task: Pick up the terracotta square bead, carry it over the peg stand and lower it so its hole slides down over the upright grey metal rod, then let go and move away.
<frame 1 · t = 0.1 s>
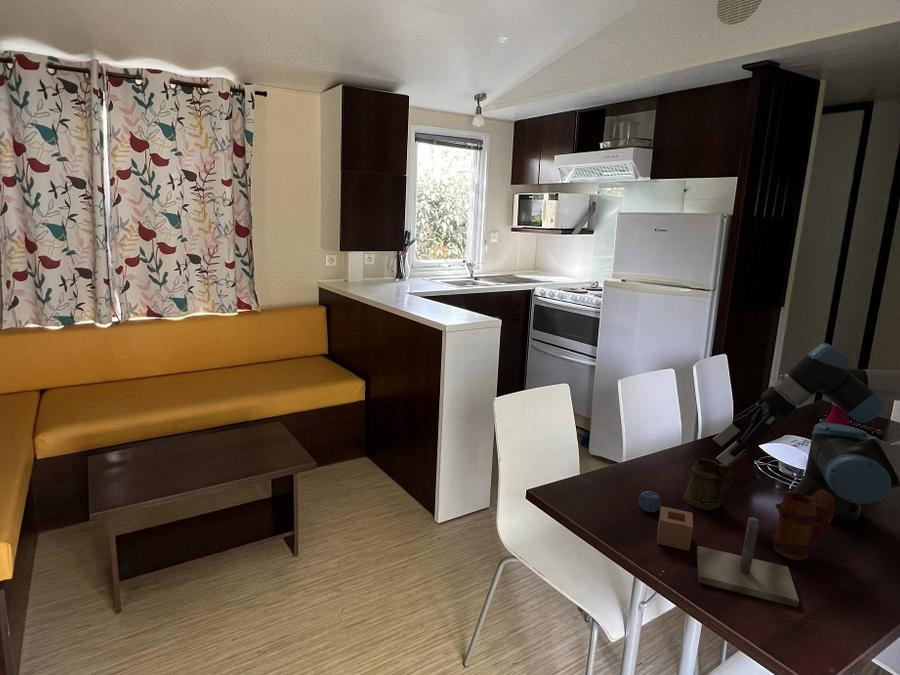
hand: (718, 452, 145), 15 cm above the table, tool tilted 35°, fingers open, 13 cm apart
peg stand: (743, 577, 119), on the table
mug: (798, 553, 129), on the table
decorative dice: (648, 509, 146), on the table
pepper mill: (833, 437, 203), on the table
wooden mug: (709, 506, 149), on the table
bead: (673, 539, 132), on the table
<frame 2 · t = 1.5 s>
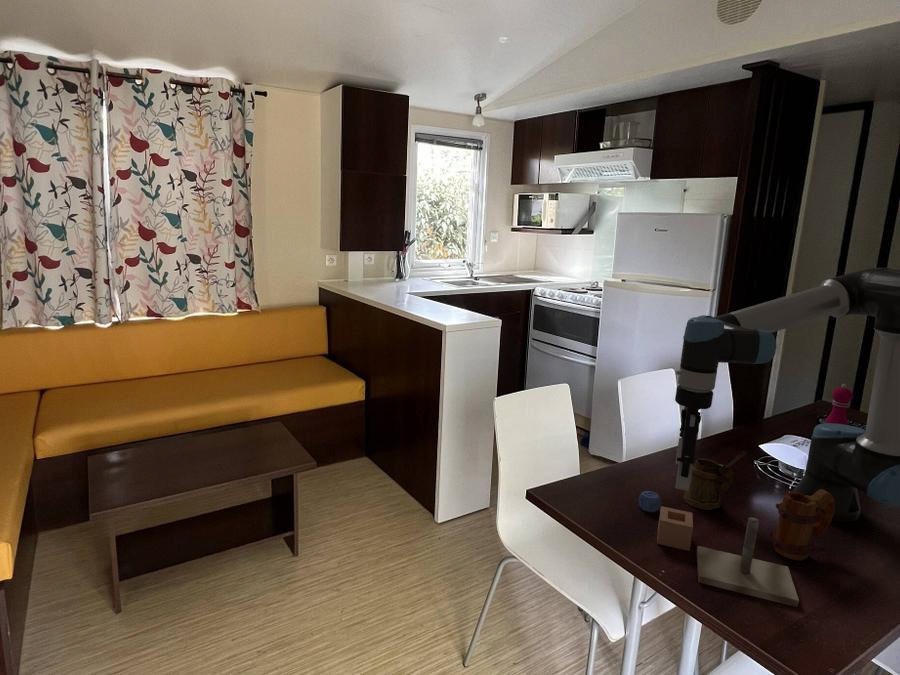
hand: (681, 476, 129), 16 cm above the table, tool pointing down, fingers open, 13 cm apart
nothing on the table moved.
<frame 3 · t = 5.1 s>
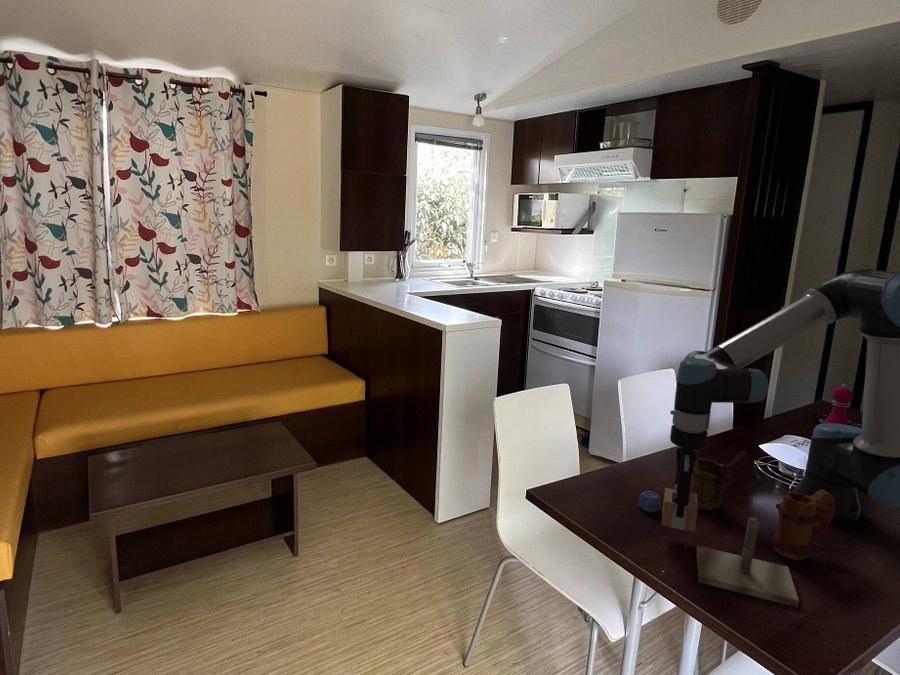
hand: (677, 519, 131), 5 cm above the table, tool pointing down, fingers closed on bead, 7 cm apart
bead: (678, 520, 131), point 5 cm above the table, touching gripper
everything else where it was.
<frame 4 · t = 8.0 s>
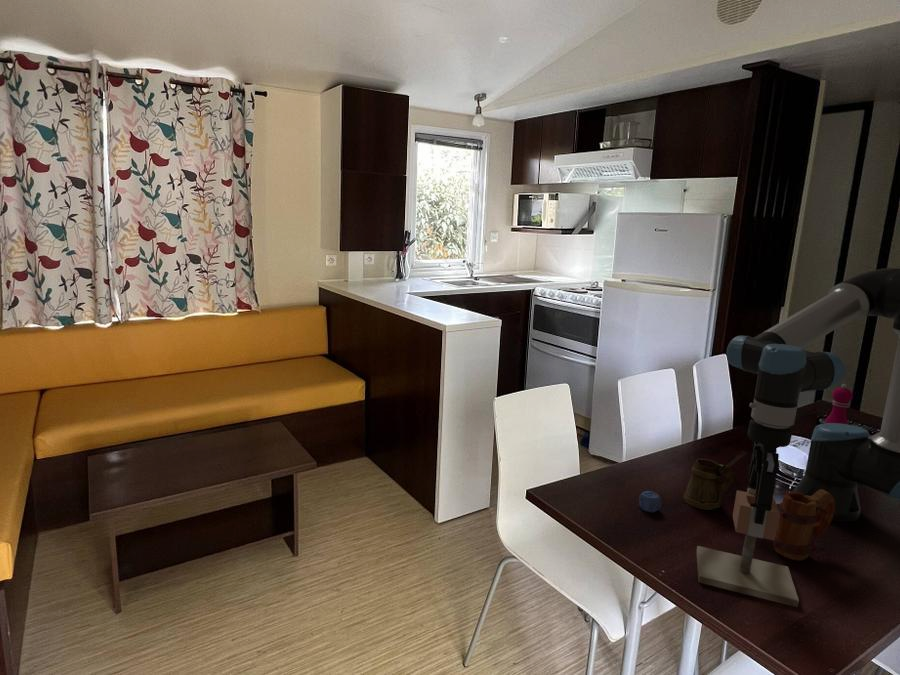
hand: (752, 526, 117), 12 cm above the table, tool pointing down, fingers closed on bead, 7 cm apart
bead: (752, 527, 117), point 12 cm above the table, touching gripper
everything else where it was.
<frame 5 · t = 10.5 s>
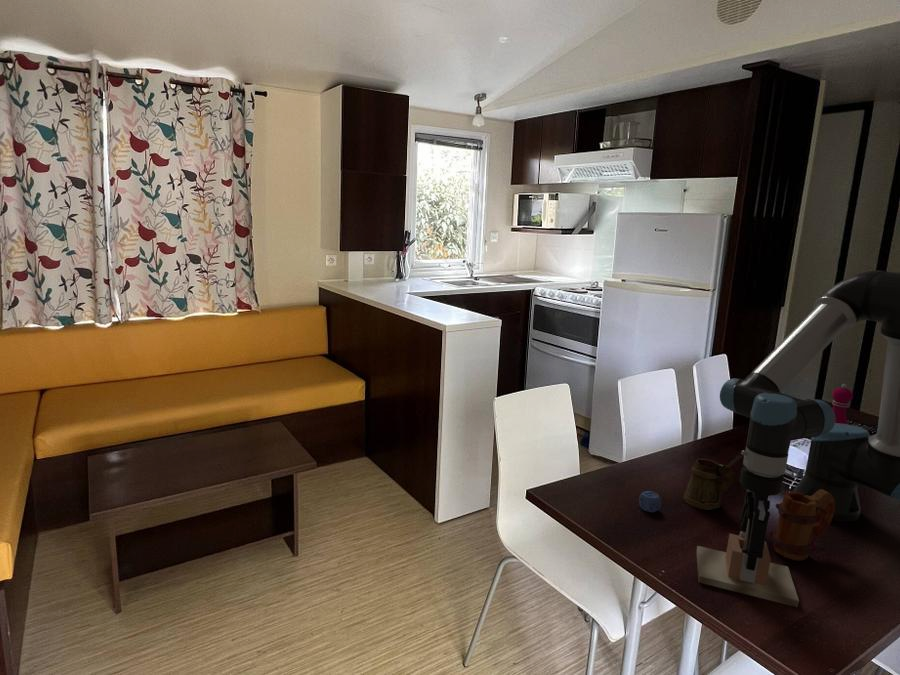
hand: (744, 570, 119), 2 cm above the table, tool pointing down, fingers closed on bead, 7 cm apart
bead: (744, 571, 119), point 2 cm above the table, touching gripper, peg stand
everything else where it was.
when the fingers open (2 cm above the table, at t = 11.2 s): bead stays where it is, resting on peg stand.
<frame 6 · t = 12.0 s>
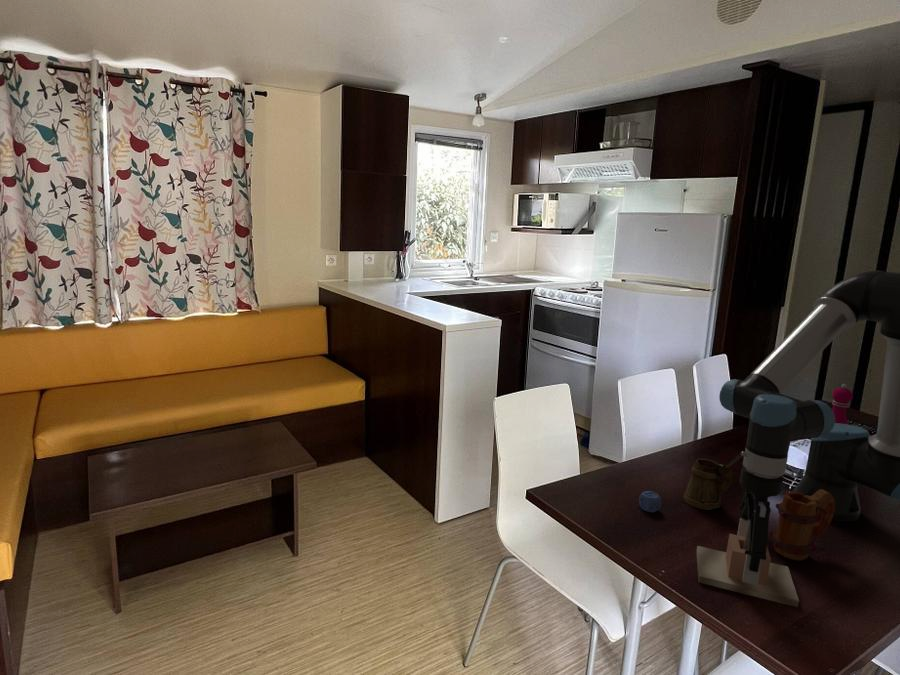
hand: (745, 564, 119), 3 cm above the table, tool pointing down, fingers open, 13 cm apart
bead: (744, 571, 119), point 1 cm above the table, touching peg stand
everything else where it was.
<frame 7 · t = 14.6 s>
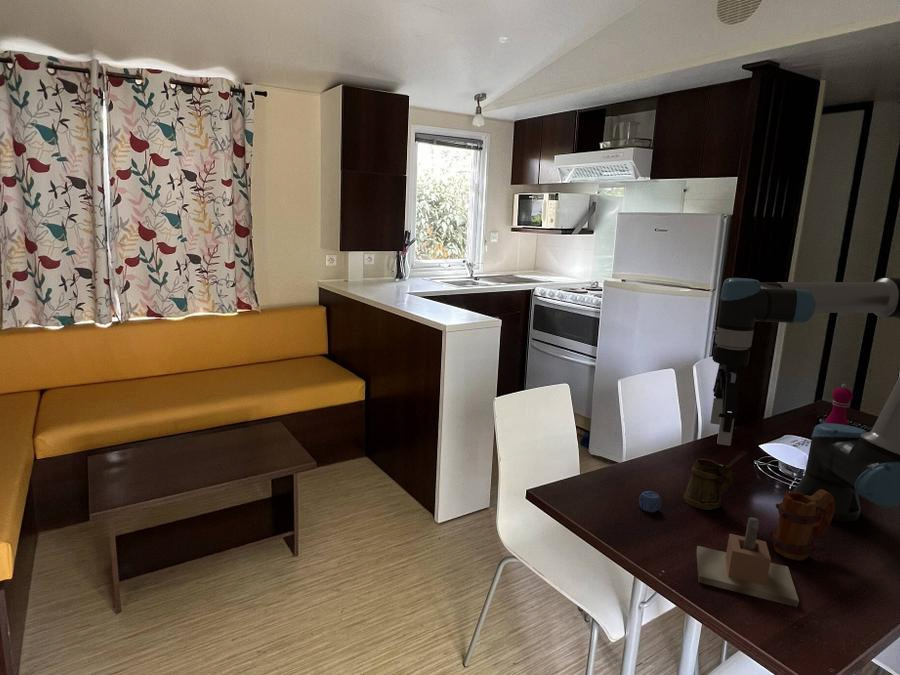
hand: (719, 433, 133), 25 cm above the table, tool pointing down, fingers open, 13 cm apart
nothing on the table moved.
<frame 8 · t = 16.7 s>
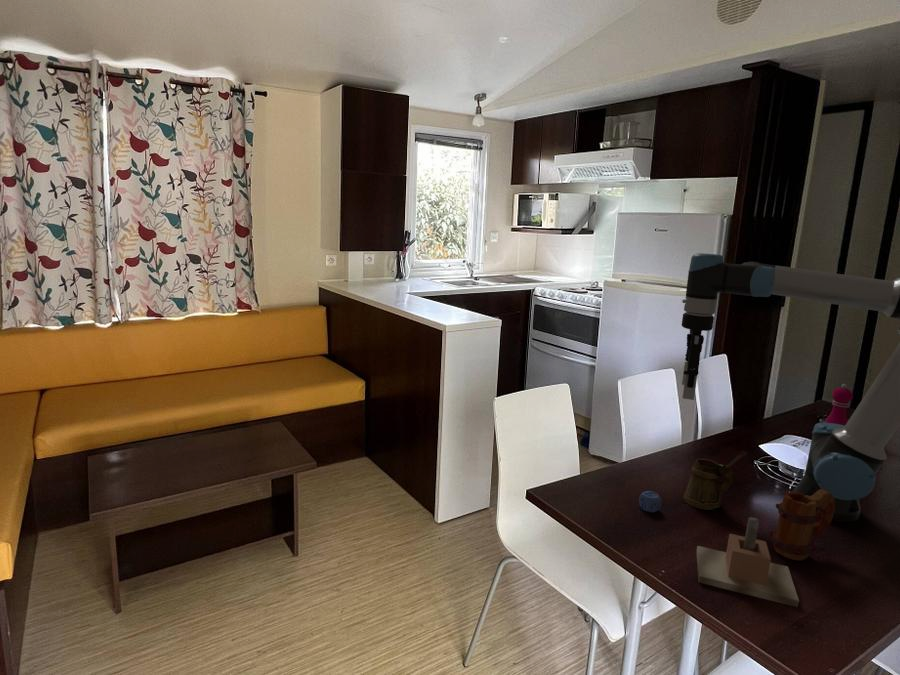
hand: (687, 391, 151), 29 cm above the table, tool pointing down, fingers open, 13 cm apart
nothing on the table moved.
at the end: bead 0.1 cm from the peg stand (horizontally); bead point 1.5 cm above the table; the gripper is holding nothing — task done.
